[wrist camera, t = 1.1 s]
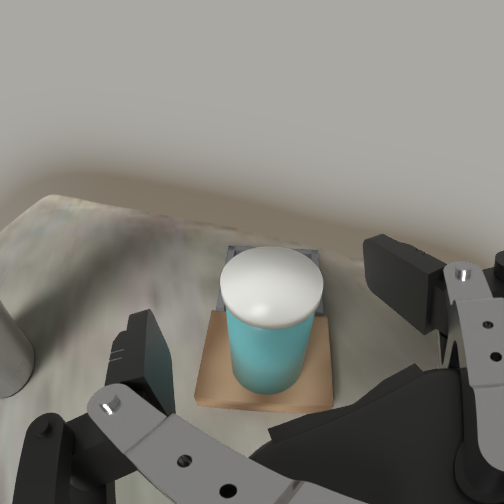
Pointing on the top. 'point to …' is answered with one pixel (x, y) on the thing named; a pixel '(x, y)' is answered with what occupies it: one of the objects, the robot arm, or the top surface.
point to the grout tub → (269, 315)
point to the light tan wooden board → (237, 397)
